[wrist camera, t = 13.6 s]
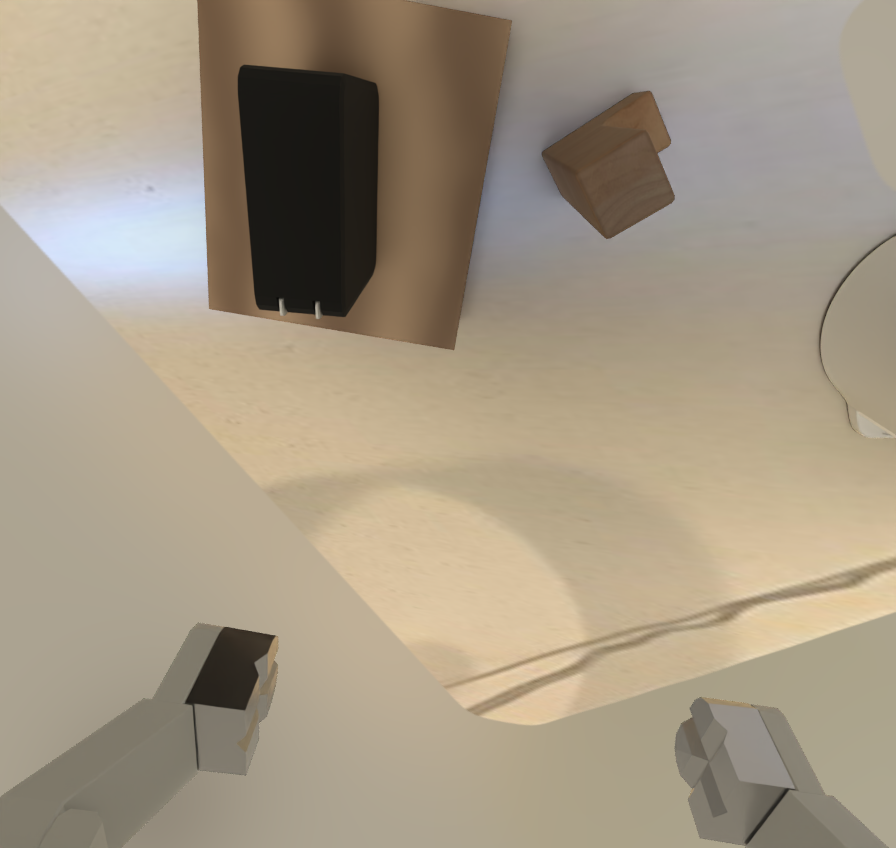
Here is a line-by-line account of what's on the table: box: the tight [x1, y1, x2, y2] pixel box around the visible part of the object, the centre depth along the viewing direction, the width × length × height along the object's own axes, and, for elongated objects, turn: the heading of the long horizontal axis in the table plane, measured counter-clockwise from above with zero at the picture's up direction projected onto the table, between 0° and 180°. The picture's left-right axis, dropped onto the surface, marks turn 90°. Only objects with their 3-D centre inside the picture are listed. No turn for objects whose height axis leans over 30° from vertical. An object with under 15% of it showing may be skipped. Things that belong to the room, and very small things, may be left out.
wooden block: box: [542, 91, 675, 239], centre depth 31 cm, size 7×3×15 cm, turn 122°
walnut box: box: [197, 0, 512, 350], centre depth 36 cm, size 16×18×6 cm
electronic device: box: [238, 65, 379, 319], centre depth 29 cm, size 4×10×10 cm, turn 176°
